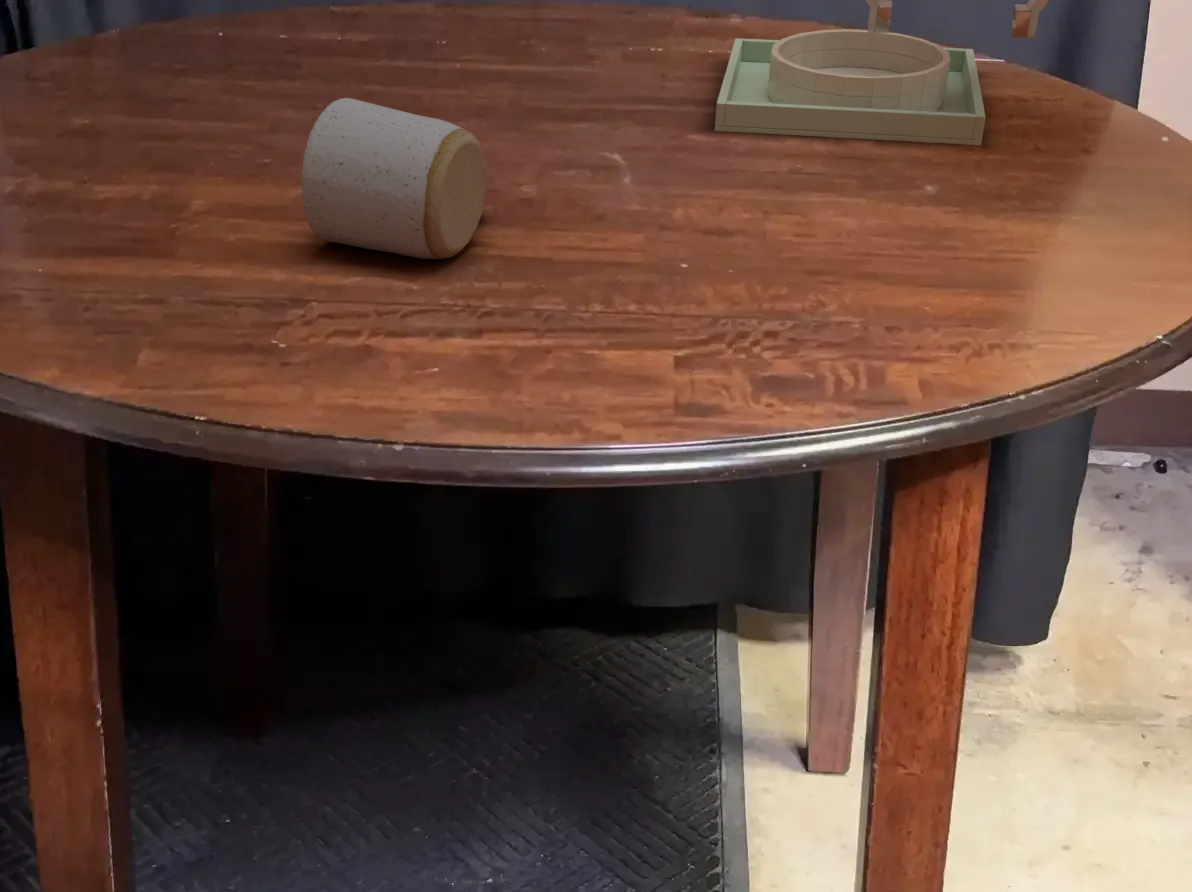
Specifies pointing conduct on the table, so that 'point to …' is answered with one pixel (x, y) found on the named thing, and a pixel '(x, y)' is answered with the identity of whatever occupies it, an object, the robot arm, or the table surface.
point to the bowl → (858, 70)
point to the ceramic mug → (392, 181)
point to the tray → (755, 113)
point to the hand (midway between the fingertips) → (949, 33)
